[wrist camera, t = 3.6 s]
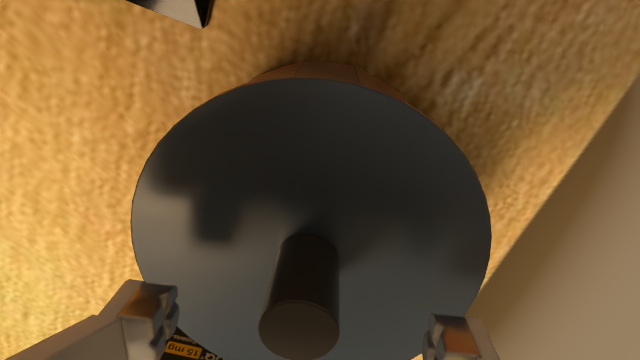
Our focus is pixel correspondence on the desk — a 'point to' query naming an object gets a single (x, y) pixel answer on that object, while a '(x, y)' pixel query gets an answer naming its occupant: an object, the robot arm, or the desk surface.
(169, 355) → the medicine bottle
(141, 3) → the black wedge
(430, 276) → the pot lid
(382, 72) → the desk surface
